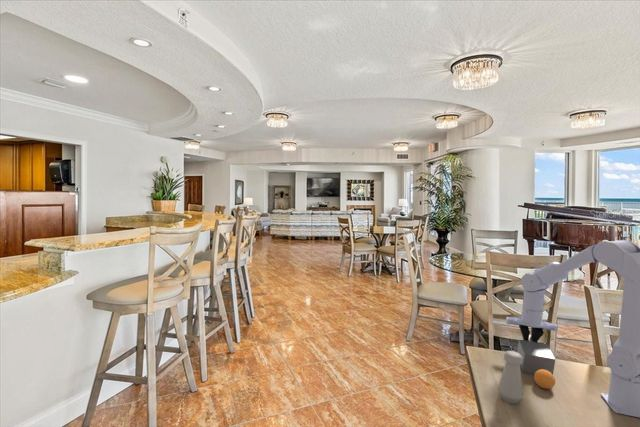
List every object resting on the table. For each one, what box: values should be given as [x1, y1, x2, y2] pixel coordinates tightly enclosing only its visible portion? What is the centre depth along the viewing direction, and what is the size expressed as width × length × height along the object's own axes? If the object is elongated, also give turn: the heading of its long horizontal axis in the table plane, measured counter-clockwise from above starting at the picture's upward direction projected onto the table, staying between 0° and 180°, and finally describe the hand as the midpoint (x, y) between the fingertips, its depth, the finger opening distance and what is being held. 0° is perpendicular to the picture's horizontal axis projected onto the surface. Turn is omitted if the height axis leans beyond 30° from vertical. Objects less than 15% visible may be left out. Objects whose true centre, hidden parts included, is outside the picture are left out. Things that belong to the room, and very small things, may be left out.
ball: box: [533, 369, 556, 390], centre depth 95 cm, size 5×5×5 cm
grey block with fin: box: [516, 334, 556, 375], centre depth 107 cm, size 14×8×6 cm, turn 160°
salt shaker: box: [497, 350, 524, 405], centre depth 88 cm, size 6×6×13 cm
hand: (528, 347), depth 111 cm, fingers closed on grey block with fin
